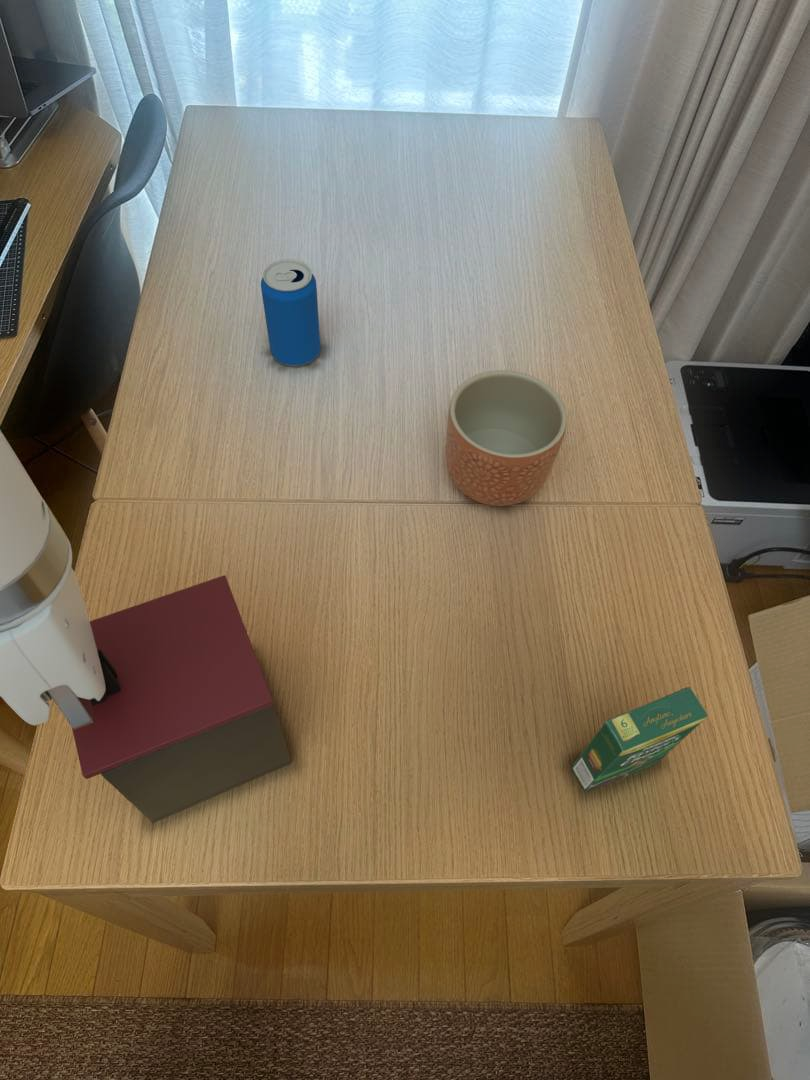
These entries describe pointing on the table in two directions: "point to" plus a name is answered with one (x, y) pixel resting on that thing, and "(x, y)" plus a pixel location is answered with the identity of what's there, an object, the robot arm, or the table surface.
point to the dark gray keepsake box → (203, 765)
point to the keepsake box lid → (171, 675)
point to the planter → (503, 436)
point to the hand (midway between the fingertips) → (97, 689)
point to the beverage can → (291, 311)
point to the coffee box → (638, 739)
